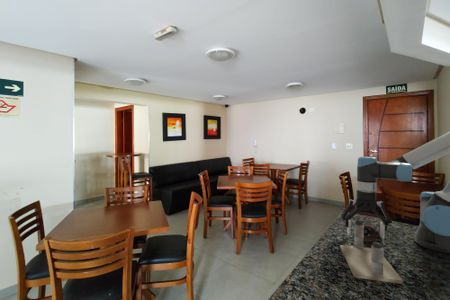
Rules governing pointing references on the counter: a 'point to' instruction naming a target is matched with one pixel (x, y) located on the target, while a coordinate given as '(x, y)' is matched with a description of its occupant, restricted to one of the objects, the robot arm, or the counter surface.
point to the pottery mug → (371, 234)
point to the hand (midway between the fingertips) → (365, 235)
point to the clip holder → (368, 259)
